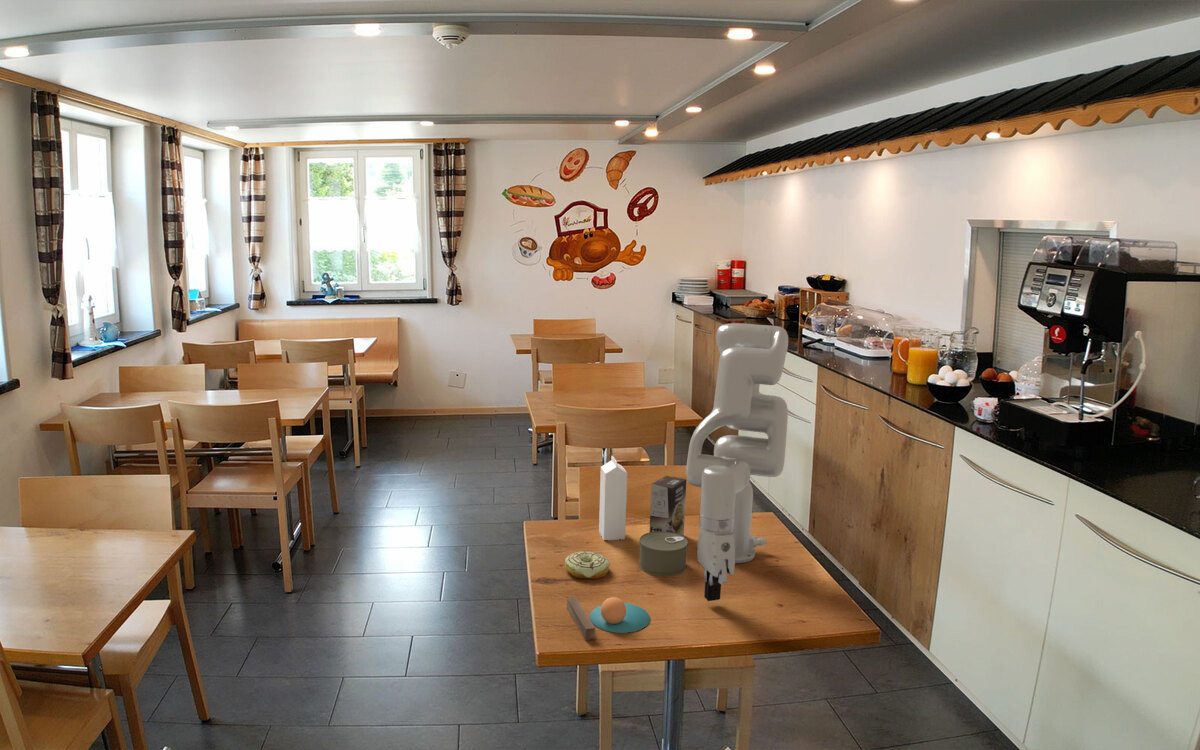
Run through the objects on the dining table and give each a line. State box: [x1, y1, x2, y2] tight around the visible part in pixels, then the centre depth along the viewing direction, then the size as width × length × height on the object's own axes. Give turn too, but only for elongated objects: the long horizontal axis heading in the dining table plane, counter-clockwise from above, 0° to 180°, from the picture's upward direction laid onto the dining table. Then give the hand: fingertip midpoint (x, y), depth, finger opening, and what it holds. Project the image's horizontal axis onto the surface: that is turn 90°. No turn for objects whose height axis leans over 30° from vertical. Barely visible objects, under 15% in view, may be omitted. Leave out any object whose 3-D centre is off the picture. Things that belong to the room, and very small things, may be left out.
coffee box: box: [648, 475, 687, 537], centre depth 217 cm, size 9×6×16 cm
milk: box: [598, 455, 628, 541], centre depth 217 cm, size 6×6×22 cm
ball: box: [601, 596, 626, 624], centre depth 172 cm, size 6×6×6 cm
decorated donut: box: [564, 551, 611, 580], centre depth 197 cm, size 10×11×4 cm
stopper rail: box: [566, 596, 596, 641], centre depth 172 cm, size 2×14×2 cm, turn 18°
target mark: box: [589, 602, 651, 634], centre depth 175 cm, size 13×13×1 cm
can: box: [639, 531, 689, 577], centre depth 201 cm, size 12×12×7 cm
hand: (712, 598), depth 182 cm, fingers closed
